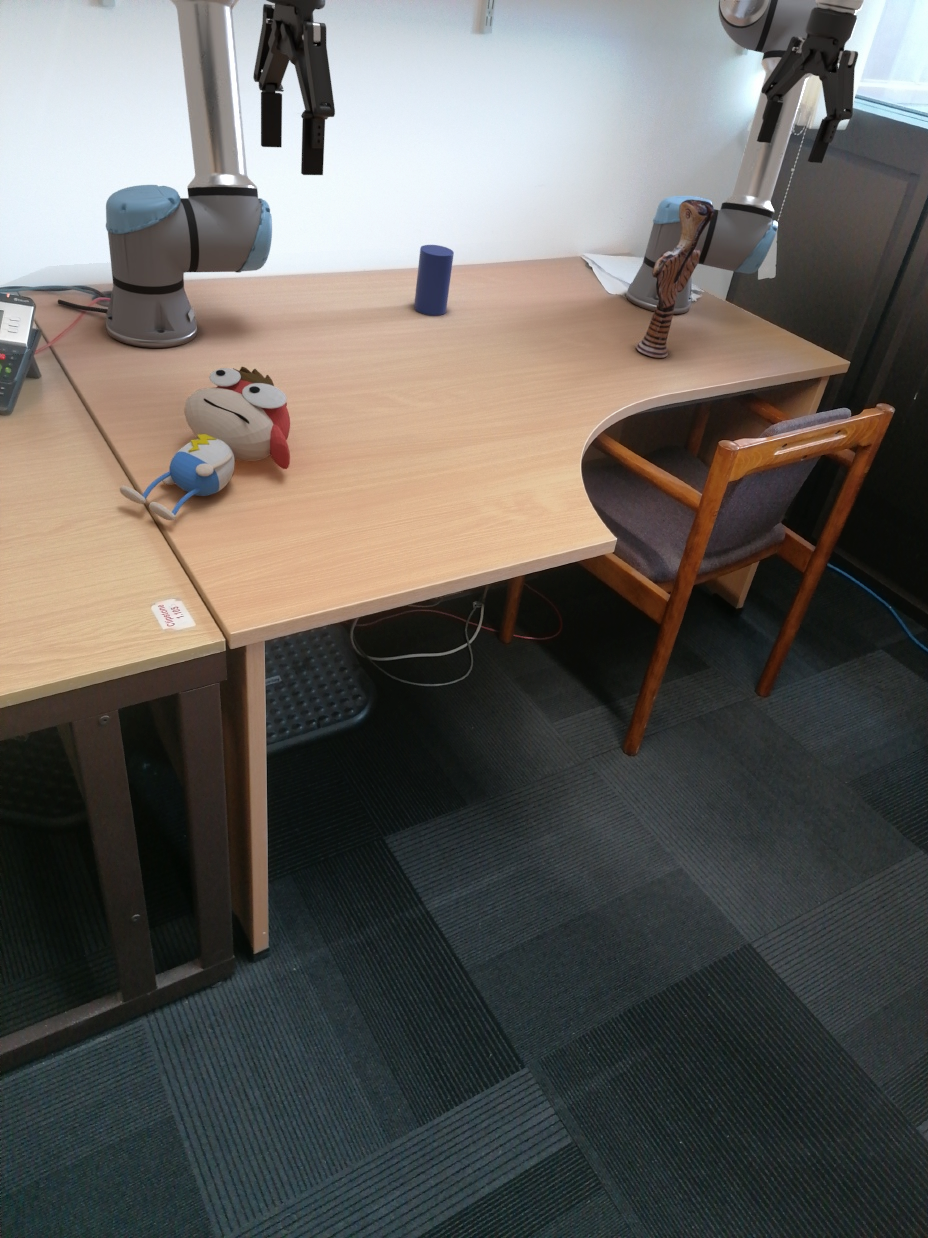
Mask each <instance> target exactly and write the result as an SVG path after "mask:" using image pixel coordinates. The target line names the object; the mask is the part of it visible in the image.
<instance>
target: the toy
mask: <svg viewBox="0 0 928 1238" xmlns="http://www.w3.org/2000/svg"><path fill="white" fill-rule="evenodd" d="M208 377H209V381H210V382H211V384H213V385H215V387H207V388H201V389H198V390H196V391H195V392H193V393H192V394H190V395H189V396H188V397H187V399H186V401H185V405H184V410H183V411H184V417H185V420H186V423H187V426H188V427H189V429H190V430H191V432H192V433H193V435H194V436H195V437H197V438H196V439H191V440H190V442H188V443H186V444H185V445H183V446H182V447H181V448H179V450H177V451H176V453H175V454H174V455H173V457H172V459H171V460H170V463H169V464H170V465H169V469H168V471H167V472H165V473H163V474H161V475H160V476H158V477H157V478H156V479H154V480H153V481H152V482H151V483H150V484H149V485H148V486H147V487H146V489H145V490H144V491H143V493H142V494H141V493H139V492H138V490H135V489H134V488H132V487H130V486H127V485H121V486H120V487H119V493H120V494H121V495H122V496H123V497H125V498H126V499H128V500H130V501H131V502H133V503H136V504H140V505H144V504H146V503H147V498H148V496H149V495H150V493H151V492H152V491H153V490H154V488H155V487H156V486H157V485H159V484H160V483H161V482H162V483H163V484H165V485H168V486H173V485H176V486H177V487H178V488H180V489H181V490H183V491H184V492H186V494H185V495H184V496H182V497H181V498H180V500H178V502H177V503H176V504H175V506H174V508H173V509H172V511H171V510H170V509H169V508H168V507H167V506H165V505H163V504H161V503H159V502H156V501H151V502H150V503H149V504H148V507H149V509H150V511H151V512H152V513H154V514H155V515H157V516H158V517H160V518H162V519H163V520H166V521H176V519H177V516H176V515H177V514H178V513H179V510H180V508H181V507H182V506H184V504H185V503H186V502H187V501H188V500H189V499H190V498H191V497H193V496H197V497H198V496H199V497H207V496H211V495H214V494H217V493H218V492H220V491H221V490H222V489H224V488H225V487H226V486H227V485H228V484H229V482H230V480H231V479H232V476H233V474H234V471H235V466H236V465H235V464H236V463H235V462H236V461H235V460H238V461H242V462H252V461H253V462H255V461H261V460H264V459H267V457H269V456H270V457H271V459H272V461H273V462H274V463H275V465H276V466H278V467H279V468H280V469H283V470H287V469H288V468H289V467H290V463H291V456H290V455H291V454H290V449H289V444H288V442H287V440H288V438H289V434H290V429H291V417H290V411H289V409H288V407H287V405H288V403H287V401H288V398H287V395H286V393H285V392H284V391H283V390H281V389H280V388H278V387H276V386H275V384H274V381H273V379H272V378H271V376H269V374H266V375H265V376H264V375H263V374H262V373H261V372H259V371H258V370H257V368H253V369H252V371H250V370H249V369H248V368H247V367H244V366H241V367H240V368H239V370H238V369H237V368H234V367H233V368H230V367H223V368H222V367H221V368H217V369H215V370H214V371H212V372H211V373H210V374H209V376H208Z"/></svg>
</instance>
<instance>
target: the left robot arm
mask: <svg viewBox="0 0 928 1238" xmlns="http://www.w3.org/2000/svg"><path fill="white" fill-rule="evenodd" d="M169 1H170V2H171V3H172V4H173V5H174V7H175V9H176V13H177V23H178V31H179V41H180V48H181V50H180V51H181V59H182V67H183V76H184V86H185V94H186V104H187V112H188V123H189V129H190V130H189V131H190V140H191V150H192V159H193V169H194V177H193V178H192V180H191V181H190V182H189V183H188V185H187V197H185V198H184V197H181V196H180V194H179V192H178V191H177V189H175V188H173V187H171V186H167V185H157V184H141V185H133V186H128V187H125V188H121V189H119V190H117V191H114V192H113V193H111V195H109V197H108V198H107V200H106V203H105V229H106V231H107V238H108V249H109V257H110V258H109V259H110V266H111V267H110V268H111V277H112V291H111V295H110V300H109V303H108V307H107V308H102V307H95V306H89V305H81V304H77V303H73V302H69V301H67V300H63V299H57V304H58V305H62V306H64V307H68V308H72V309H76V310H81V311H85V312H86V311H87V312H95V313H102V314H106V315H105V326H106V328H105V329H106V332H107V334H108V335H109V336H110V337H111V338H112V339H114V340H116V341H117V342H120V343H123V344H126V345H130V346H133V347H140V348H152V349H157V348H160V349H163V348H171V347H177V346H182V345H184V344H187V343H189V342H191V341H193V340H194V339H195V338H196V337H197V335H198V324H197V320H196V317H195V316H196V311H195V310H194V306H193V305H192V306H191V304H190V300H189V298H188V296H187V293H186V290H185V278H184V276H185V273H242V272H253V271H258V270H260V269H261V268H263V267H264V266H265V264H266V263H267V261H268V258H269V255H270V251H271V247H272V240H273V239H272V238H273V219H272V214H271V207H270V205H269V203H268V202H267V201H266V200H265V199H263V198H260V197H259V194H258V193H259V191H258V186H257V185H256V184H255V183H254V182H253V181H252V180H251V179H250V178H249V176H248V170H247V169H248V168H247V158H246V148H245V147H246V146H245V137H244V127H243V125H244V124H243V117H242V116H243V115H242V114H243V113H242V104H241V92H240V82H239V73H238V72H239V70H238V60H237V49H236V37H235V28H234V27H235V25H234V15H233V11H234V9H235V7H236V6H237V5H238V3H240V1H241V0H169ZM265 1H266V2H268V3H269V4H268V3H263V5H262V21H261V22H262V23H261V29H260V35H259V40H258V46H257V52H256V56H255V57H256V58H255V64H254V69H253V75H252V76H253V77H252V78H253V81H254V82H255V83H258V89H259V91H260V147H262V148H282V146H283V145H282V142H283V141H282V140H283V139H282V137H283V93H284V91H285V90H284V86H283V84H282V82H283V79H284V77H285V74H286V71H287V68H288V65H289V63H290V64H292V65H293V66H294V69H295V72H296V77H297V81H298V85H299V90H300V94H301V98H302V103H303V107H304V109H303V111H302V113H301V115H300V118H302V123H301V125H302V126H301V127H302V129H301V130H302V131H301V160H300V161H301V162H300V164H301V165H300V166H301V167H300V168H301V169H300V174H301V175H303V176H324V157H325V132H326V120H328V119H329V118H334V117H335V115H336V109H335V102H334V101H335V100H334V94H333V93H334V91H333V85H332V79H331V78H332V77H331V71H330V63H329V57H328V55H329V54H328V46H327V25H326V23H325V22H315V19H314V11H315V10H322V9H324V8H325V6H326V0H265ZM271 3H272V4H271ZM282 92H283V93H282Z"/></svg>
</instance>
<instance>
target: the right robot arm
mask: <svg viewBox="0 0 928 1238" xmlns="http://www.w3.org/2000/svg"><path fill="white" fill-rule="evenodd" d="M864 2H865V0H718V6H717V7H718V9H717V11H718V17H719V20H720V23H721V26H722V28H723V29H724V32H725V33H726V34H727V35H728V37H729V38H730V39H731V40H732V41H733V42H734V43H735V44H737V45H738V46H740V47H741V48H743V49H745V50H748V51H754V52H756V53H757V52H758V53H762V54H763V56H762V58H761V66H762V69H763V70H764V72H765V75H764V78H763V82H762V85H761V90H760V93H759V96H758V100H757V104H756V107H755V110H754V115H753V118H752V121H751V124H750V129H749V132H748V136H747V139H746V142H745V146H744V150H743V154H742V156H741V161H740V164H739V168H738V171H737V175H736V177H735V181H734V186H733V189H732V192H731V194H730V196H729V197H727V198H726V199H724V200H723V201H722V203H721V205H720V209H715V208H714V214H713V217H712V219H711V220H710V221H709V223H708V224H707V226H706V227H705V229H704V230H703V232H702V234H701V235H700V237H699V240H698V243H697V245H696V248H698V249H699V251H700V256H699V263H698V264H697V265H702V266H705V267H710V268H717V269H721V270H724V271H725V270H726V271H730V272H733V273H741V274H742V273H743V274H746V275H747V274H748V275H750V274H754V273H756V272H758V270H759V269H760V268H761V267H762V264H763V263H764V261H765V259H766V258H767V256H768V254H769V252H770V249H771V247H772V246H773V242H774V240H775V238H776V234H777V231H778V227H779V223H778V221H776V220H773V218H774V215H775V212H776V211H775V209H774V208H773V205H772V202H771V201H772V198H773V194H774V190H775V188H776V184H777V181H778V178H779V174H780V171H781V168H782V163H783V161H784V158H785V154H786V151H787V147H788V145H789V141H790V138H791V133H792V130H793V127H794V124H795V120H796V117H797V113H798V110H799V107H800V103H801V100H802V97H803V93H804V90H805V87H806V83H807V81H808V80H809V79H810V78H811V77H813V76H815V77H818V79H819V80H820V82H821V86H822V93H823V94H822V95H823V98H824V107H825V113H826V116H825V117H823V118H822V119H821V122H820V124H819V126H818V127H819V128H818V130H817V133H816V136H815V138H814V142H813V144H812V147H811V149H810V153H809V156H808V158H807V162H809V163H815V164H816V163H817V164H822V163H823V161H824V158H825V155H826V153H827V150H828V147H829V144H831V143H832V142H833V140H834V138H835V136H836V132H837V130H838V127H839V124H840V123H841V122H842V121H845V120H851V119H852V118H853V114H854V113H853V112H854V95H855V93H854V90H855V68H856V64H857V61H858V57H859V52H858V51H857V50H850V49H845V47H846V43H847V42H849V41H850V40H851V39H852V36H853V33H854V31H855V28H856V25H857V22H858V15H857V14H856V13H857V12H859V11H861V10H862V8H863V5H864ZM691 199H693V200H701V201H707V202H709V203H711V204H712V205H713V201H712V200H710V199H708V198H704V197H703V198H702V197H701V196H695V195H673V196H668V197H665V198H663V199H662V200H661V201H660V202H659V203H658V206H657V208H656V211H655V215H654V217H653V219H652V227H651V230H650V234H649V238H648V242H647V246H646V249H645V253H644V256H643V261H642V263H641V266H640V268H639V269H638V271H637V272H636V275H635V276H634V278H633V280H632V281H631V283H630V284H629V286H628V288H627V292H626V299H627V300H628V301H629V302H631V303H632V304H633V305H635V306H637V307H639V308H642V309H645V310H646V311H647V310H648V311H651V312H654V311H655V309H656V307H657V304H658V302H659V298H658V296H657V290H656V282H657V278H654V277H653V275H652V271H653V269H654V265H655V263H656V262H657V260H658V259H660V256H661V255H662V254H663V253H664V252H665V251H670V252H672V251H673V250H674V248H675V247H677V246H678V244H679V242H680V238H681V231H682V228H681V222H680V218H679V207H680V204H681V203H682V202H683V201H685V200H691ZM692 275H693V274H692ZM692 275H691V277H690V278H689V280H688V282H687V284H686V286H685V287H684V289H683V290H682V291H681V292H678V293H677V298H676V301H675V305H674V312H673V315H681V314H685V313H688V312H689V311H690V308H691V305H692V301H693V297H692Z"/></svg>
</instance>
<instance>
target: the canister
mask: <svg viewBox="0 0 928 1238" xmlns="http://www.w3.org/2000/svg"><path fill="white" fill-rule="evenodd" d="M419 248H420V249H419V258H418V266H417V276H416V286H415V293H414V294H415V295H414V303H413V304H414V305H413V309H414V310H415V312H418V313H420V314H423V315H426V316H434V317H435V316H443V315H445V314H446V313H447V308H448V299H449V292H450V284H451V277H452V269H453V262H454V256H455V255H454V251H453V250H452V249H451V248H449V247H447V246H443V245H438V244H424V245H421V246H420V247H419Z"/></svg>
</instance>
